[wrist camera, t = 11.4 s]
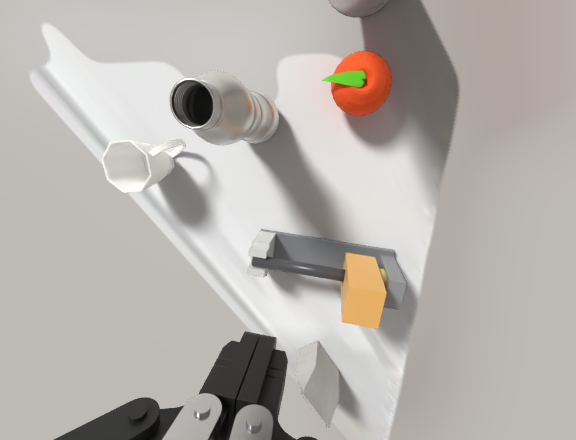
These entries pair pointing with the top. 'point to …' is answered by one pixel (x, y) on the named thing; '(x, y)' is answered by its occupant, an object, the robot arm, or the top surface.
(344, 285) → the sleeve
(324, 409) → the milk carton
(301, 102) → the top surface
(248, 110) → the plastic bottle
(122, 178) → the cup
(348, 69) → the clementine
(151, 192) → the top surface
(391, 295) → the gray horizontal rod stand
